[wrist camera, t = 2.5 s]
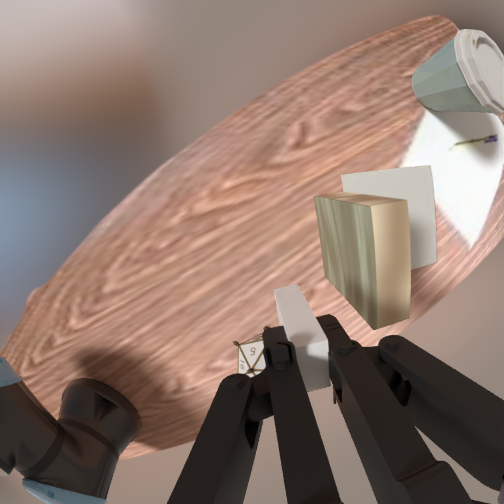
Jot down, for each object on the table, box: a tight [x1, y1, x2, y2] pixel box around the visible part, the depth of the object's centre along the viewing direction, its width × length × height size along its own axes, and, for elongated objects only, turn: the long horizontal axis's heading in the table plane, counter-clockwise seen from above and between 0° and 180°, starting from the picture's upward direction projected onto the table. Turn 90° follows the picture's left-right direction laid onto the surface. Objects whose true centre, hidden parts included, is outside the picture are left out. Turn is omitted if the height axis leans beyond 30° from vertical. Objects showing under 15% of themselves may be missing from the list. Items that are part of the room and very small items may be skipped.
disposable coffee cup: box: [411, 29, 504, 115], centre depth 21 cm, size 11×11×15 cm
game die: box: [233, 326, 268, 377], centre depth 32 cm, size 9×8×10 cm
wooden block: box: [314, 192, 411, 330], centre depth 26 cm, size 4×10×14 cm, turn 11°
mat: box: [341, 165, 436, 270], centre depth 33 cm, size 14×14×1 cm
